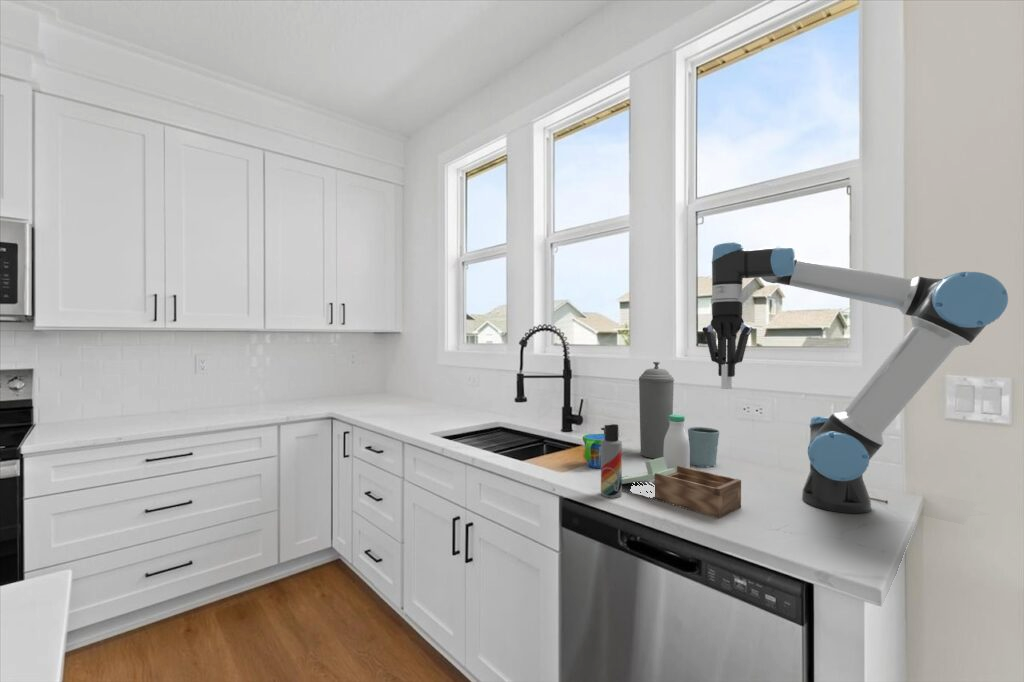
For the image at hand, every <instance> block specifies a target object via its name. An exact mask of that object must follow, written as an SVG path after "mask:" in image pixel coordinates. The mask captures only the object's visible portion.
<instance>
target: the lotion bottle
mask: <svg viewBox="0 0 1024 682" xmlns="http://www.w3.org/2000/svg"><path fill="white" fill-rule="evenodd" d="M603 432H604V433H603V434H604V439H605V440H602V441H601V468H600V494H601V496H603V497H605V498H608V497H610V498H609V499H616V498H615V497H617V498H620V497H622V477H623V473H622V471H623V469H622V468H623V467H622V466H623V464H622V463H623V460H622V458H623V457H622V455H623V453H622V451H623V448H622V447H623V444H622V443H623V442H622V441H621V440H619V424H618V423H617V424H615V423H611V424H605V425H604V431H603Z"/></svg>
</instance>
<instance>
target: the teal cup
mask: <svg viewBox="0 0 1024 682" xmlns="http://www.w3.org/2000/svg"><path fill="white" fill-rule="evenodd" d="M687 433H688V434H687V436H688V439H689V446H690V463H691V464H690V465H692V464H693V465H692V466H694V465H697V466H696V467H699V466H714V465H715V466H716V465H717V454H718V446H719V437H720V430H718V429H715V428H711V427H702V426H699V427H698V426H693V427H688V428H687ZM715 466H714V467H715Z"/></svg>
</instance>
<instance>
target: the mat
mask: <svg viewBox="0 0 1024 682" xmlns="http://www.w3.org/2000/svg"><path fill="white" fill-rule="evenodd" d="M627 476H628V475H625V476H622V478H623V477H627ZM640 482H642V483H643V484H644V485H647V484H646V483H645V482H647V483H648V484H649V485H651V486H653V485H652V484H650V483H649V482H652V483H653V484H654V485H655V481H651V480H645V481H638V483H639V484H640V485H642V486H643V484H642V483H640ZM638 483H637V482H635V484H634V483H633V482H631V483H624V484H622V490H624V492H626V491H627V493H629V492H631V491H630V489H631V486H633V485H635V486H637V485H639V484H638ZM632 484H633V485H632ZM640 485H639V486H640ZM653 487H654V486H653ZM646 492H647V491H646ZM650 492H651V491H650ZM640 493H641V492H640ZM647 493H648V492H647ZM651 493H652V492H651ZM630 494H632V492H631V493H630ZM649 498H650V497H649ZM649 498H648V499H649Z"/></svg>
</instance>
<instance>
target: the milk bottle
mask: <svg viewBox="0 0 1024 682" xmlns="http://www.w3.org/2000/svg"><path fill="white" fill-rule="evenodd" d="M669 422H670V425H669V429H668V431H667V433H666V436H665V439H664V455H663V457H664V459H665V462H666V466H667V469H672V468H675V469H676V472H677V466H681V467H686V468H690V469H691V466H690V465H691V464H690V446H689V436H688V434H687V432H686V430H685V423H686V422H685V415H683V414H673V415H669Z"/></svg>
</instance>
